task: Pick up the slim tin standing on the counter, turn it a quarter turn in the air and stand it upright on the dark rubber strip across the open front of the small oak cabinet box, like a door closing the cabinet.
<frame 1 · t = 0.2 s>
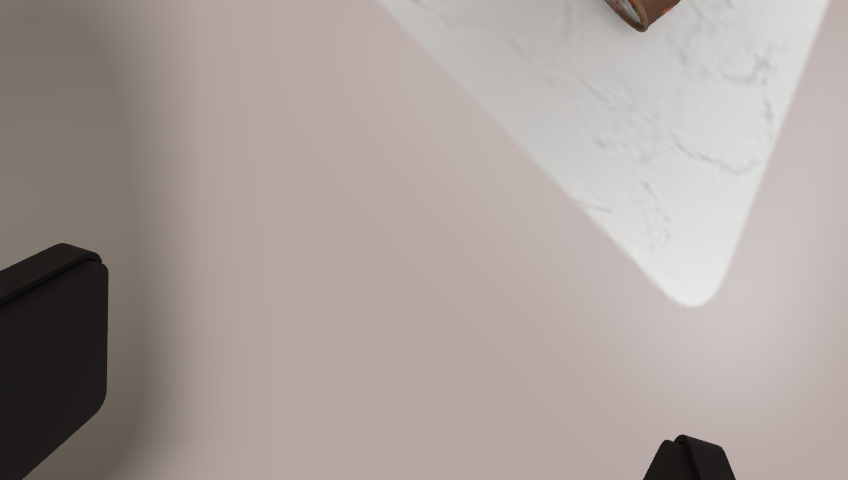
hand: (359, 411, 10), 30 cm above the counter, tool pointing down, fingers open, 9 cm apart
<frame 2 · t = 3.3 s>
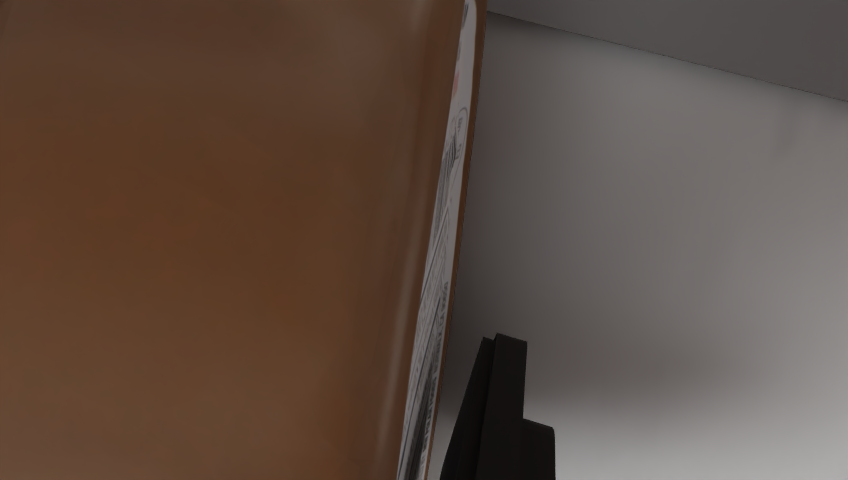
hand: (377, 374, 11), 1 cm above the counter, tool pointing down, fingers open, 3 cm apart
tin: (397, 337, 12), on the counter, touching gripper
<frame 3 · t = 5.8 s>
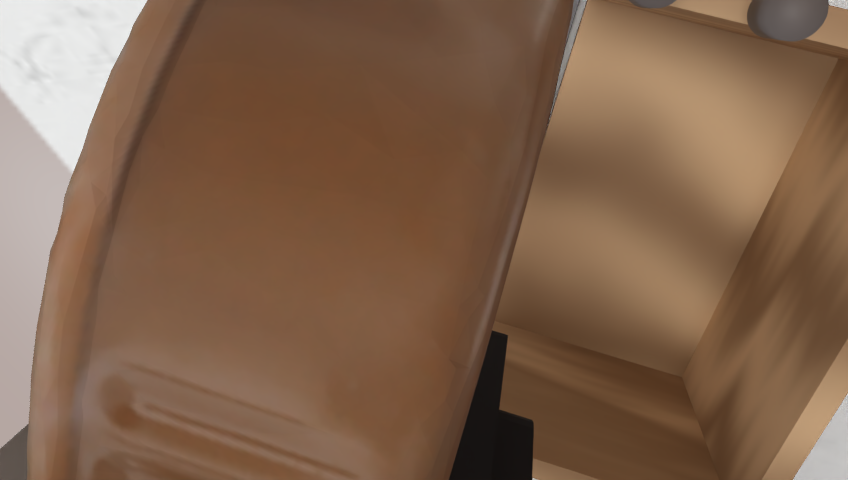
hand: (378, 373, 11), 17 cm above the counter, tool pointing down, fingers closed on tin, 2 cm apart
tin: (410, 342, 12), point 15 cm above the counter, touching gripper
cabinet carcass: (647, 204, 25), on the counter
when the fingers open (2 cm above the counter, at t = 9.0 s): tin stays where it is, resting on door seat.
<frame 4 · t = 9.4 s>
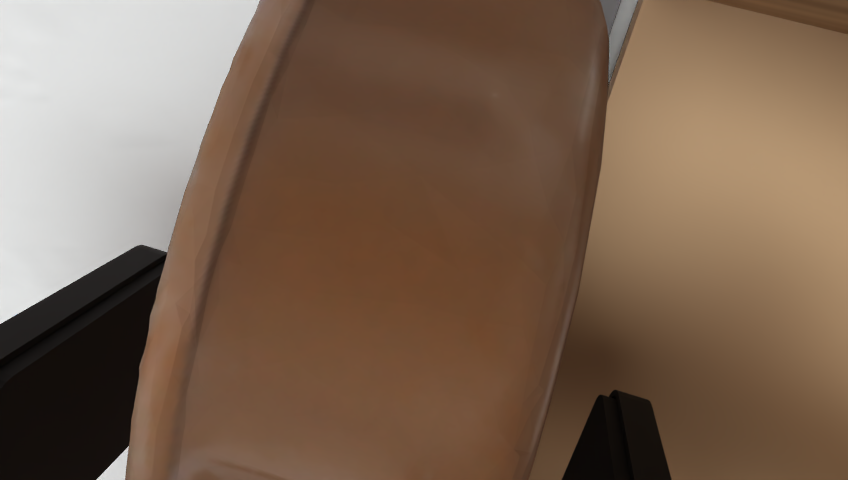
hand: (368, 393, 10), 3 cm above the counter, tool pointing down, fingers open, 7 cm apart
tin: (416, 332, 13), resting on door seat
cabinet carcass: (754, 417, 12), on the counter
door seat: (406, 311, 13), on the counter
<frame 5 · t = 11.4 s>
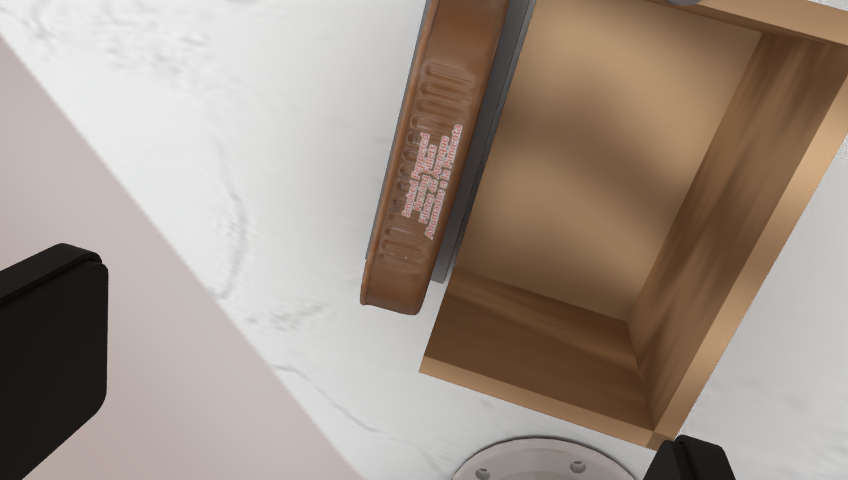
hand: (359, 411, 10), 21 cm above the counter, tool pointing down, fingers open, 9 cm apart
tin: (449, 127, 29), resting on door seat
cabinet carcass: (597, 163, 28), on the counter
door seat: (445, 117, 29), on the counter
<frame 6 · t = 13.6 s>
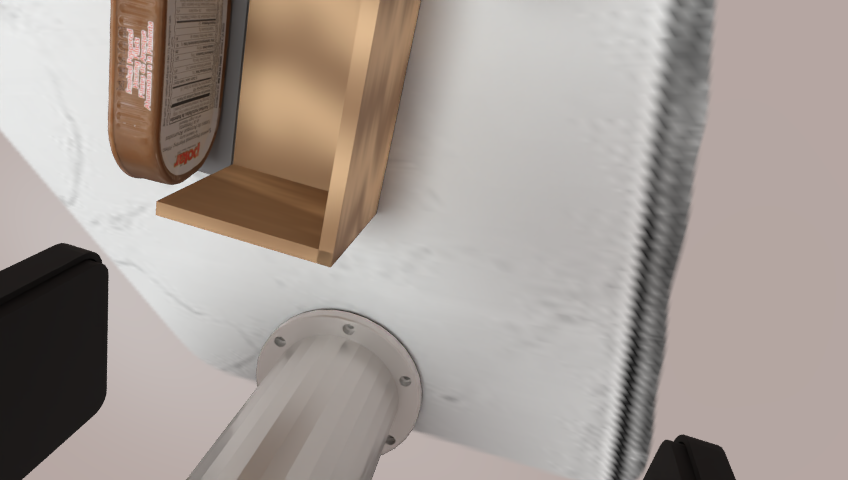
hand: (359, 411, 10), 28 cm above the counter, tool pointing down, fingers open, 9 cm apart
tin: (215, 50, 37), resting on door seat
cabinet carcass: (324, 73, 37), on the counter
door seat: (211, 43, 37), on the counter
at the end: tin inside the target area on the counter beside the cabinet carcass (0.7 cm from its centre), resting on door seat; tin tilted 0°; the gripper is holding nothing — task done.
